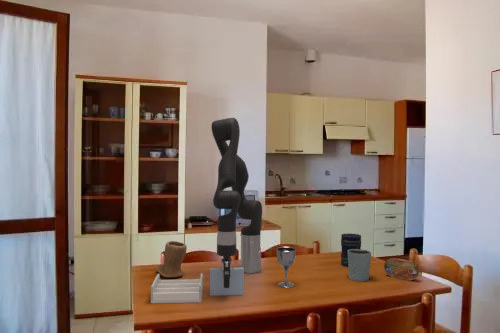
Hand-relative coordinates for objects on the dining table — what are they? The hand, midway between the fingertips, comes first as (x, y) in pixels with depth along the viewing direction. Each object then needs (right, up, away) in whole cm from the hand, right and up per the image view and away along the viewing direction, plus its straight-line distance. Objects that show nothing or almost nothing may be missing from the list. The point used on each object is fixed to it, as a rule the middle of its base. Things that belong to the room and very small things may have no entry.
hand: (226, 284), depth 151 cm
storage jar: (+60, -4, +44) cm, 74 cm away
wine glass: (+24, -4, +12) cm, 27 cm away
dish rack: (-18, -4, -1) cm, 19 cm away
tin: (+77, -4, +23) cm, 80 cm away
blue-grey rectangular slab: (0, -4, 0) cm, 4 cm away
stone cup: (-26, -4, +26) cm, 37 cm away
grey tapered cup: (+58, -4, +22) cm, 62 cm away
